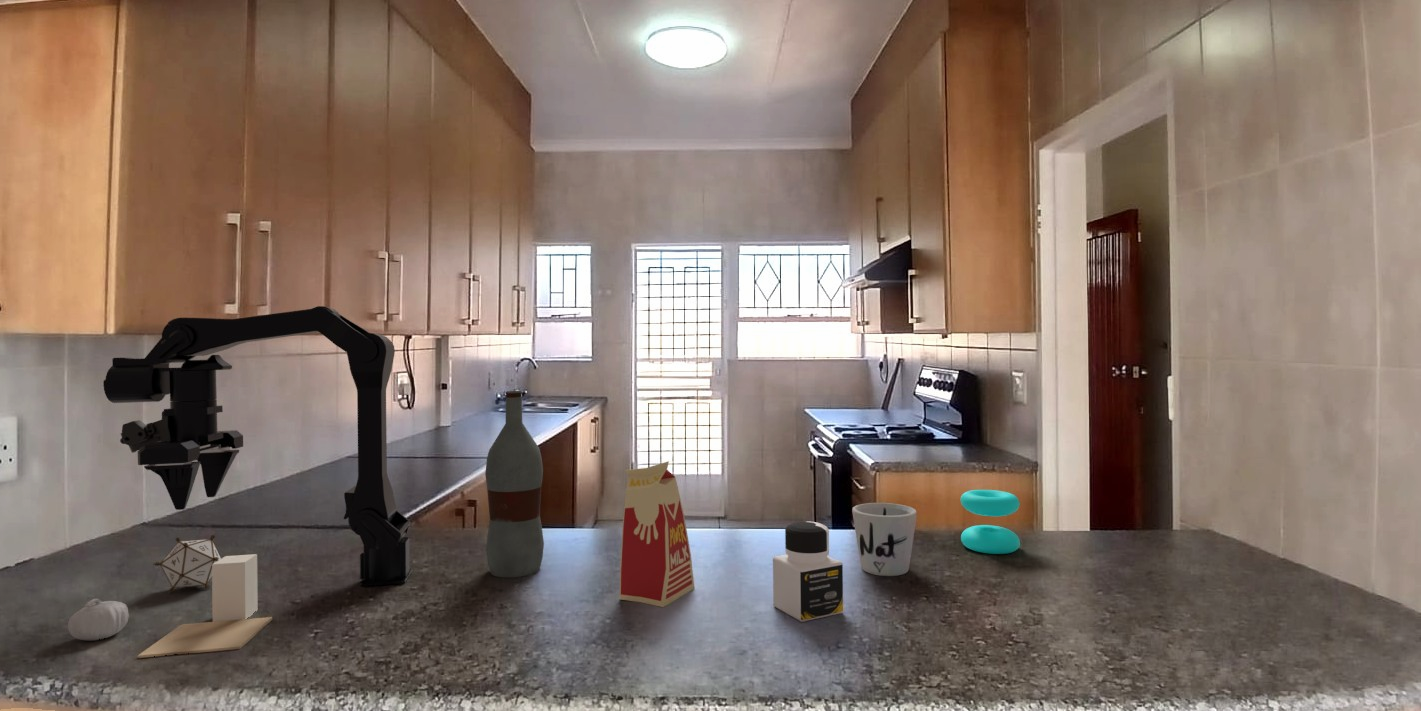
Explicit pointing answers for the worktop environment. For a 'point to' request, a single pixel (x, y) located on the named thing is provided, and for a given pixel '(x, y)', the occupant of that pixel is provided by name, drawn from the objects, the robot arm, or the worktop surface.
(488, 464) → the vodka
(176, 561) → the game die
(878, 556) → the mug
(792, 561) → the medicine bottle
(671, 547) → the milk carton
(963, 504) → the donuts
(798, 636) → the worktop surface
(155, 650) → the cork trivet
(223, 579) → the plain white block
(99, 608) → the garlic
